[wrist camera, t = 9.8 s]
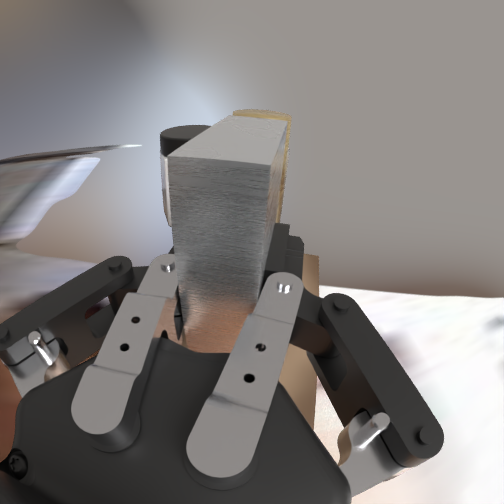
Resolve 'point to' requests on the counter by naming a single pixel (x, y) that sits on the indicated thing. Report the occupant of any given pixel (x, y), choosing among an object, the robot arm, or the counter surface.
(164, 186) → the jar
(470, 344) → the counter surface
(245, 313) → the brushed metal block
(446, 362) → the counter surface
